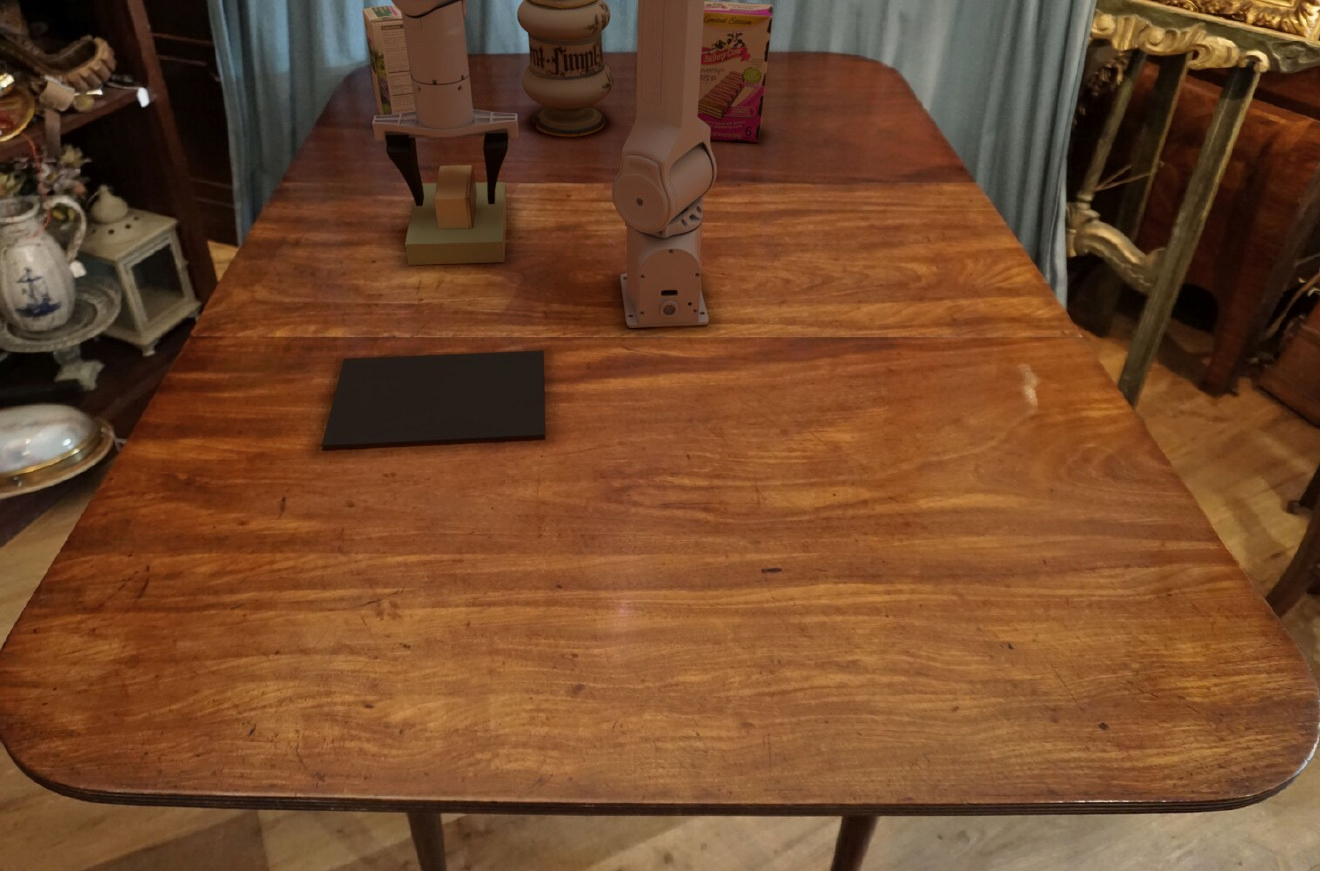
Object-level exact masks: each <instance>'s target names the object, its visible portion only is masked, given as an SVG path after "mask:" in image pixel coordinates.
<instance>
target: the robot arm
mask: <svg viewBox="0 0 1320 871" xmlns="http://www.w3.org/2000/svg"><path fill="white" fill-rule="evenodd" d="M390 1H391V2H392V4H393V5H394V6H396V7H397V8H398V9H399V10H400V11H401V14H402V21H403V28H404V34H405V41H406V48H407V55H408V61H409V68H410V75H411V81H412V88H413V95H414V102H415V108H416V111H411V112H405V113H398V114H391V115H379V114H378V115H377V114H376V115H374V116H373V119H372V122H371V125H372V130H373V136H374V137H373V138H374V141H375V142H385V141H386V143H385V144H386V148H385V151H386V155H387V157H388V158H389V160H390V161H391V162H392V163H393V164H394V165H395V167H396V169H398V171H399V173H400V174H401V176H402V177H403V179H404V180H405V182H406V184H407V186H408V188H409V190H410V192H411V195H412V198H413V202H414V201H415V204H416V206H423V201H424V192H423V185H422V184H423V180H422V177H421V173H420V167H419V160H418V151H417V140H416V139H422V138H426V139H427V138H477V137H478V138H480V137H481V138H482V137H484V138H483V144H482V145H483V146H482V150H483V157H484V163H485V164H484V165H485V172H486V182H487V198H488V204H495V189H496V183H497V182H498V180H499V174H500V171H501V168H502V165H503V163H504V160H505V158H506V155H507V153H508V149H509V140H511V139H512V140H513V139H515V140H516V139H517V140H518V139H519V131H520V130H519V119H518V118H519V117H518V113H514V112H512V113H511V112H510V113H509V112H497V111H489V110H482V109H474V106H473V98H472V97H473V96H472V87H471V76H470V68H469V58H468V49H467V39H466V30H465V22H464V21H465V19H466V16H467V15H468V14H467V0H390ZM704 3H705V0H637V38H636V40H637V41H636V45H637V46H636V50H637V51H636V90H635V91H636V92H635V94H636V96H635V97H636V98H635V120H634V123H633V125H632V127H631V129H630V132H629V133H628V135H627V137H626V140H625V141H624V144H623V147H622V149H621V154H620V156H621V159H620V160H621V161H620V167H619V170H618V173H617V174H616V176H615V177H614V179H613V182H612V187H611V188H612V189H611V196H612V201H613V205H614V207H615V208H614V209H615V210H616V212H617V213H618V215H619V217H620V218H621V219H622V221H624V227H626V273H622V274H620V276H619V278H620V287H621V294H622V295H621V296H622V301H623V302H622V303H623V309H624V318H625V323H626V324H625V325H626V327H628V328H632V329H634V328H635V329H636V328H658V327H659V328H660V327H661V328H662V327H663V328H664V327H686V326H687V327H688V326H706V325H708V324H709V320H710V318H709V316H708V311H707V307H706V303H705V299H704V296H703V292H702V287H701V286H702V266H701V252H702V250H701V249H702V234H703V215H704V209H703V208H704V195H706V194H707V193H708V192H709V191H711V189H712V188H713V187H714V184H715V182H716V179H717V174H718V165H717V160H716V157H715V155H714V153H713V149H712V146H711V139H710V132H711V129H710V127H709V126H708V125H707V124H706V123H705V122H703V121H702V120H701V119H699V118H698V117H697V115H698V99H699V83H700V67H701V51H702V35H703V19H704Z"/></svg>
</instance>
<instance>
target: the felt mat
mask: <svg viewBox="0 0 1320 871" xmlns="http://www.w3.org/2000/svg"><path fill="white" fill-rule="evenodd" d="M545 396H546V394H545V352H544V350H525V351H524V350H523V351H521V350H519V351H499V352H498V351H497V352H496V351H495V352H473V353H472V352H471V353H449V354H447V353H446V354H424V355H423V354H422V355H399V356H397V355H395V356H376V357H375V356H374V357H351V358H343V361H342V365H341V369H340V373H339V377H338V380H337V384H336V388H335V392H334V396H333V399H332V403H331V408H330V412H329V414H328V415H329V416H328V419H327V423H326V427H325V430H324V435H323V438H322V442H321V448H322V450H323V451H324V450H327V451H328V450H345V449H364V448H365V449H366V448H387V447H401V446H402V447H404V446H408V447H409V446H427V445H442V444H443V445H444V444H445V445H447V444H465V443H485V442H505V441H506V442H507V441H525V440H526V441H527V440H529V441H530V440H546V403H545V402H546V401H545V400H546V398H545Z"/></svg>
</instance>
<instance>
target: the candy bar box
mask: <svg viewBox="0 0 1320 871" xmlns="http://www.w3.org/2000/svg"><path fill="white" fill-rule="evenodd" d="M773 16H774V5H773V4H767V3H754V2H753V3H751V2H736V1H723V0H705V3H704V19H703V35H702V51H701V67H700V83H699V99H698V115H697V117H698V118H699V119H701V120H702V121H703V122H705V123H706V124H707V125H708V126H709V127H710V129H711V132H710V140H713V141H725V142H726V141H728V142H729V141H730V142H740V143H741V142H742V143H759V141H760V135H761V128H762V119H763V112H764V100H765V92H766V82H767V73H768V64H769V55H770V54H769V53H770V44H771V36H772V29H773V28H772V26H773V18H774V17H773Z"/></svg>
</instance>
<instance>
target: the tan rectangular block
mask: <svg viewBox="0 0 1320 871" xmlns="http://www.w3.org/2000/svg"><path fill="white" fill-rule="evenodd" d="M475 173H476V172H475V166H474V165H473V164H468V165H467V164H465V165H464V164H462V165H439V169H438V174H437V181H436V184H437V185H436V191H435V197H434V202H435V209H436V216H437V223H438V229H455V228H474V218H475V208H476V197H477V191H476V183H477V182H476V174H475Z"/></svg>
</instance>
